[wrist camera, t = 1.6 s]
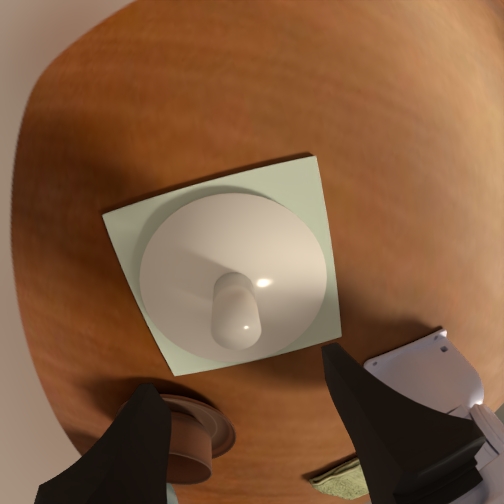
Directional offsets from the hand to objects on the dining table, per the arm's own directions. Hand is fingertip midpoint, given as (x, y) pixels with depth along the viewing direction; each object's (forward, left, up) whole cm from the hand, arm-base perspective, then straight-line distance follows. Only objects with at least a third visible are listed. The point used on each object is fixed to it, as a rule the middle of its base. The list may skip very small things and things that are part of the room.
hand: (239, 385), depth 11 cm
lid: (0, 0, -9) cm, 9 cm away
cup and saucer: (+10, +14, -10) cm, 20 cm away
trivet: (0, 0, -10) cm, 10 cm away
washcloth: (-10, +40, -10) cm, 42 cm away
